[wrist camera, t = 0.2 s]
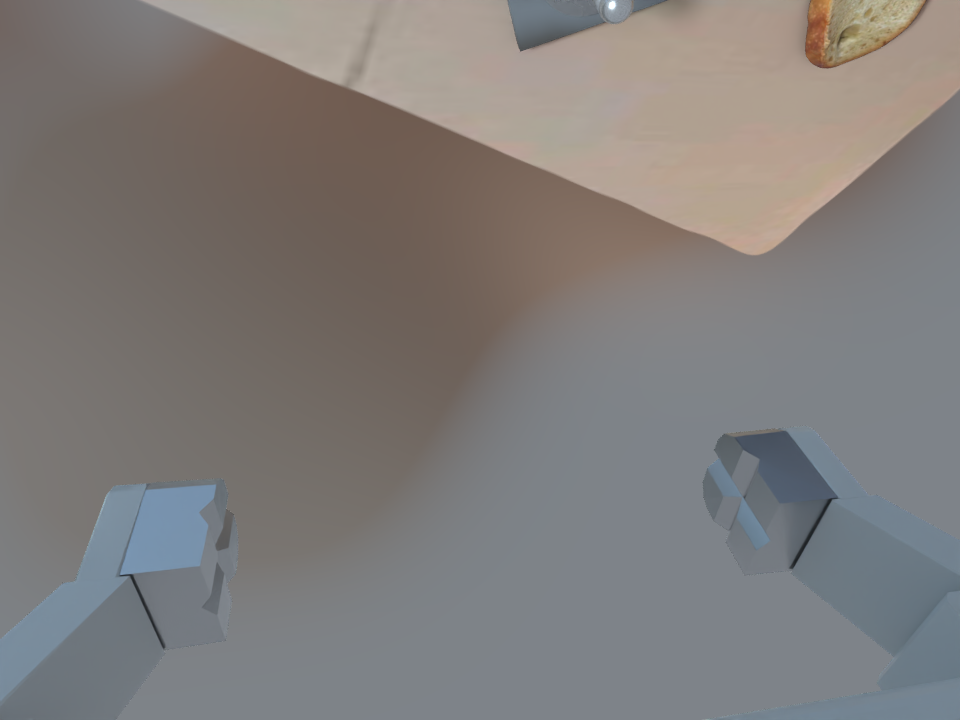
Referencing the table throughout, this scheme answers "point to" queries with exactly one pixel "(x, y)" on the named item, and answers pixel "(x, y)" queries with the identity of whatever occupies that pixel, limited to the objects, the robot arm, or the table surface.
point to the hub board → (566, 17)
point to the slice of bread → (854, 27)
